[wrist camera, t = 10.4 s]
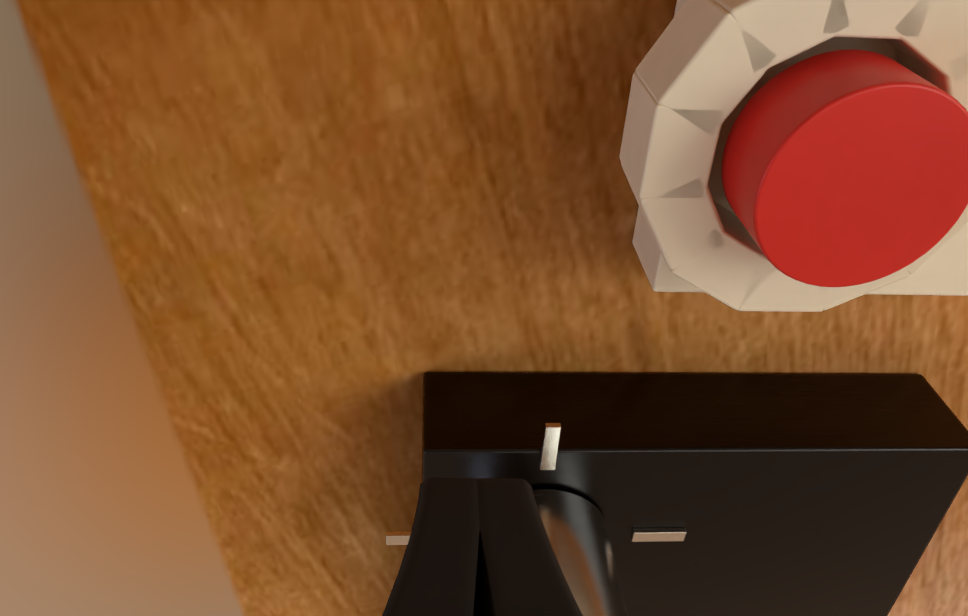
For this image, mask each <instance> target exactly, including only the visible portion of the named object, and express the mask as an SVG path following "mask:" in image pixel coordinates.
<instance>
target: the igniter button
mask: <svg viewBox="0 0 968 616" xmlns="http://www.w3.org/2000/svg"><path fill="white" fill-rule="evenodd" d="M721 174H722V183H723V188H724V192H725V195H726V198H727V200H728V202H729V204H730V206H731V208H732V209H733V211H734V212H735V214H736V215H737V217H738V218H739V220H740V221H741V222H742V224H743V225H744V227H745V228H746V230H747V231H748V232H749V234H750V235H751V237H752V238H753V240H754V241H755V242H756V244H757V245H758V247H759V248H760V250H761V251H762V252H763V254H764V255H765V257H766V258H767V260H768V261H769V262H770V263H771V264H772V265H773V266H774V267H775V268H776V269H778V270H779V271H780V272H782V273H783V274H785V275H787V276H788V277H790V278H792V279H794V280H797V281H800V282H803V283H806V284H810V285H815V286H820V287H848V286H854V285H860V284H864V283H868V282H872V281H875V280H878V279H880V278H883V277H886V276H888V275H890V274H892V273H895V272H897V271H899V270H901V269H902V268H904V267H906V266H908V265H909V264H911V263H913V262H914V261H916V260H917V259H918V258H920V257H921V256H923V255H924V254H925V253H927V252H928V251H929V250H930V249H931V248H933V247H934V246H935V245H936V244H937V243H938V242H939V241H940V240H941V239H942V238H943V237H944V236H945V235H946V234H947V233H948V232H949V231H950V229H951V228H952V227H953V226H954V224H955V223H956V222H957V221H958V219H959V218H960V216H961V214H962V213H963V211H964V210H965V208H966V206H967V204H968V111H967V110H966V108H965V107H964V106H963V105H962V104H961V103H960V102H959V101H958V100H957V99H955V98H954V97H952V96H951V95H949V94H948V93H946V92H945V91H943V90H942V89H940V88H938V87H937V86H935V85H933V84H932V83H930V82H929V81H927V80H925V79H924V78H922V77H920V76H919V75H917V74H916V73H914V72H912V71H911V70H909V69H907V68H906V67H904V66H903V65H901V64H899V63H898V62H896V61H894V60H893V59H891V58H888V57H886V56H884V55H882V54H878V53H875V52H871V51H865V50H856V49H853V50H837V51H831V52H826V53H822V54H819V55H815V56H812V57H809V58H807V59H804V60H802V61H800V62H797V63H796V64H794V65H792V66H790V67H788V68H786V69H785V70H783V71H782V72H780V73H779V74H777V75H776V76H774V77H773V78H772V79H770V80H769V81H768V82H767V83H766V84H765V85H764V86H762V87H761V88H760V89H759V90H758V91H757V92H756V93H755V94H754V96H753V97H752V98H751V99H750V100H749V101H748V103H747V104H746V105H745V107H744V108H743V109H742V110H741V112H740V114H739V115H738V117H737V119H736V120H735V122H734V124H733V126H732V128H731V131H730V133H729V135H728V138H727V141H726V144H725V148H724V152H723V158H722V172H721Z"/></svg>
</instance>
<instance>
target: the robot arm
mask: <svg viewBox="0 0 968 616" xmlns="http://www.w3.org/2000/svg"><path fill="white" fill-rule="evenodd" d="M382 616H583V615H582V613H581V611H580V609H579V607H578V605H577V602H576V600H575V598H574V596H573V594H572V592H571V590H570V588H569V585H568V583H567V581H566V579H565V577H564V574H563V572H562V570H561V567H560V565H559V562H558V560H557V558H556V555H555V553H554V551H553V548H552V546H551V543H550V541H549V538H548V535H547V533H546V530H545V528H544V525H543V522H542V519H541V516H540V513H539V510H538V507H537V504H536V501H535V498H534V494H533V491H532V487H531V485H530V484H529V483H528V482H527V481H526V480H524V479H500V478H428V479H427V480H425V481H424V482H422V483H421V484H420V491H419V500H418V505H417V510H416V514H415V519H414V523H413V527H412V531H411V534H410V538H409V541H408V545H407V548H406V551H405V554H404V557H403V560H402V564H401V567H400V570H399V573H398V575H397V578H396V581H395V583H394V586H393V589H392V591H391V594H390V597H389V599H388V602H387V605H386V607H385V610H384V613H383V615H382Z"/></svg>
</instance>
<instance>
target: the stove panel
mask: <svg viewBox="0 0 968 616" xmlns="http://www.w3.org/2000/svg"><path fill="white" fill-rule="evenodd" d="M967 476H968V430H967V429H966V428H965V427H964V425H963V424H962V423H961V422H960V421H959V419H958V418H957V417H956V416H955V415H954V413H953V412H952V411H951V410H950V408H949V407H948V406H947V405H946V404H945V402H944V401H943V400H942V399H941V397H940V396H939V395H938V394H937V393H936V391H935V390H934V389H933V388H932V387H931V385H930V384H929V383H928V382H927V380H926V379H925V378H924V377H923V376H922V375H920V374H742V373H495V372H426V373H424V375H423V423H422V482H424V481H425V480H427V479H428V478H500V479H524V480H526V481H527V482H528V483H529V484H530V485H531V487H532V490H534V489H556V490H563V491H567V492H571V493H574V494H577V495H579V496H581V497H583V498H585V499H587V500H588V501H590V502H591V503H592V504H593V505H595V506H596V507H597V508H598V510H599V511H600V512H601V514H602V515H603V517H604V519H605V522H606V525H607V529H608V534H609V538H610V542H611V546H612V550H613V554H614V559H615V563H616V567H617V571H618V575H619V580H620V584H621V588H622V592H623V596H624V601H625V605H626V609H627V613H628V616H887V615H888V613H889V612H890V610H891V608H892V606H893V605H894V603H895V601H896V599H897V598H898V596H899V594H900V592H901V591H902V589H903V587H904V585H905V584H906V582H907V580H908V579H909V577H910V575H911V573H912V572H913V570H914V568H915V566H916V565H917V563H918V561H919V559H920V558H921V556H922V554H923V552H924V551H925V549H926V547H927V545H928V544H929V542H930V540H931V538H932V537H933V535H934V533H935V531H936V530H937V528H938V526H939V524H940V523H941V521H942V519H943V517H944V516H945V514H946V512H947V510H948V509H949V507H950V505H951V504H952V502H953V500H954V498H955V497H956V495H957V493H958V491H959V490H960V488H961V486H962V484H963V483H964V481H965V479H966V477H967ZM410 534H411V531H390V532H386V545H408V541H409V538H410Z"/></svg>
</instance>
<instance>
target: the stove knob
mask: <svg viewBox="0 0 968 616" xmlns="http://www.w3.org/2000/svg"><path fill="white" fill-rule="evenodd" d="M532 491H533V494H534V498H535V501H536V504H537V507H538V510H539V513H540V516H541V519H542V522H543V525H544V528H545V530H546V533H547V535H548V538H549V541H550V543H551V546H552V548H553V551H554V553H555V555H556V558H557V560H558V562H559V565H560V567H561V570H562V572H563V574H564V577H565V579H566V581H567V583H568V585H569V588H570V590H571V592H572V594H573V596H574V598H575V600H576V602H577V605H578V607H579V609H580V611H581V613H582V615H583V616H628V613H627V609H626V605H625V601H624V596H623V592H622V588H621V584H620V580H619V575H618V571H617V567H616V563H615V559H614V554H613V550H612V546H611V542H610V538H609V534H608V529H607V525H606V522H605V519H604V517H603V515H602V514H601V512H600V511H599V510H598V508H597V507H596V506H595V505H593V504H592V503H591V502H590V501H588V500H587V499H585V498H583V497H581V496H579V495H577V494H574V493H571V492H567V491H563V490H556V489H534V490H532Z"/></svg>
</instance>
